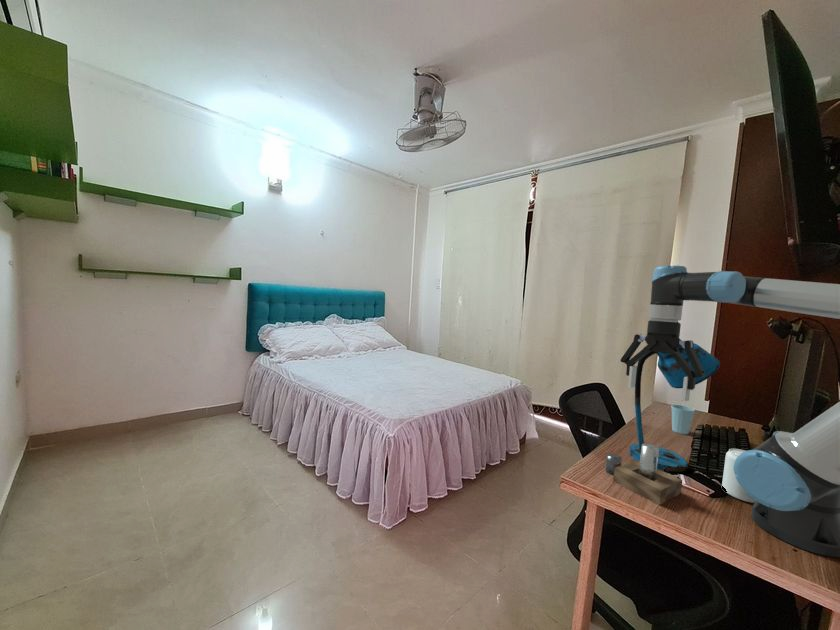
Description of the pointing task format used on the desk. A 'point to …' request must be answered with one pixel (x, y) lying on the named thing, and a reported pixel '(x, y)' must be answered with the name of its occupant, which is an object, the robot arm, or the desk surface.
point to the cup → (681, 418)
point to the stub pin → (612, 462)
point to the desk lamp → (675, 380)
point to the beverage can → (730, 479)
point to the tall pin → (648, 461)
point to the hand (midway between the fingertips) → (656, 393)
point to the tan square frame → (648, 483)
